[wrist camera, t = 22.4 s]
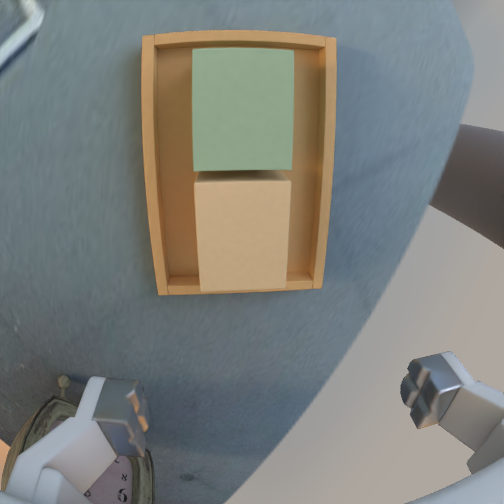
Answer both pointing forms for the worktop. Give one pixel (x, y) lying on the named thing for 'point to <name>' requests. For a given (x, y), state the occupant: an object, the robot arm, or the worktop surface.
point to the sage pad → (242, 109)
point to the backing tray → (183, 177)
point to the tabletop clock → (112, 479)
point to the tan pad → (242, 229)
